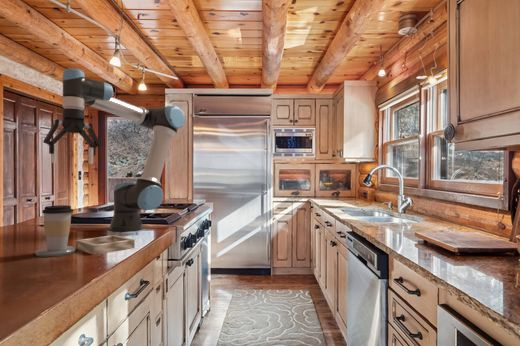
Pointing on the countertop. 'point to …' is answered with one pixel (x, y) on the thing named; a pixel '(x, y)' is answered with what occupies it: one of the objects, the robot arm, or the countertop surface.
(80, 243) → the frame
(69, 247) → the disc
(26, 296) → the countertop surface
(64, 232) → the coffee cup
